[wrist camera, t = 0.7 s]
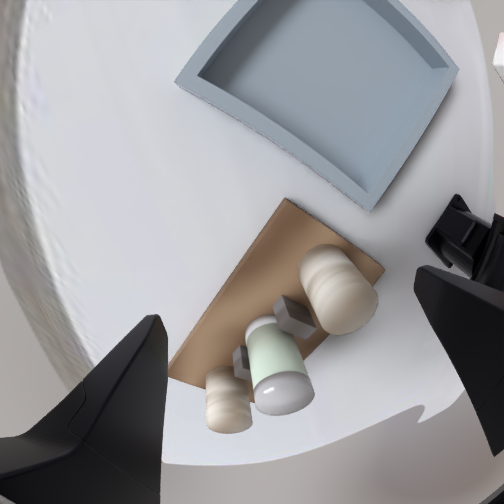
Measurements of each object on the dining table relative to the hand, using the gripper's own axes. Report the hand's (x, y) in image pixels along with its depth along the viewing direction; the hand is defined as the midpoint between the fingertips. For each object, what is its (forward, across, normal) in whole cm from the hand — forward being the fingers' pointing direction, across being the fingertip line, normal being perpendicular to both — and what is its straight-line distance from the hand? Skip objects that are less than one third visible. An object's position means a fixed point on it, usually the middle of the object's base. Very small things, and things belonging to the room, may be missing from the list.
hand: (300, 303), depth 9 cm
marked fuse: (+13, 0, +13) cm, 18 cm away
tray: (+14, -7, -10) cm, 18 cm away
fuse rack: (+14, 0, +13) cm, 19 cm away
